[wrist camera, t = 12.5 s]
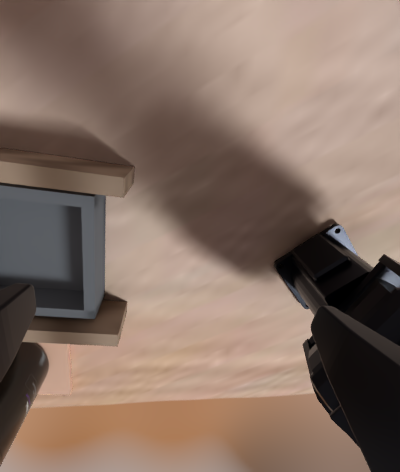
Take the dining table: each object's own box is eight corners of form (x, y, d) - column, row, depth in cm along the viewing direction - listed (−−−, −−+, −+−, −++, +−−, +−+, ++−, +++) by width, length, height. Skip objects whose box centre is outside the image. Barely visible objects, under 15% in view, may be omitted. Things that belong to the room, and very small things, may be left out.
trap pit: (105, 185, 19) (94, 196, 16) (104, 295, 23) (94, 319, 20) (-29, 168, 18) (-66, 177, 15) (-6, 287, 22) (-32, 311, 19)
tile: (68, 316, 24) (65, 321, 23) (72, 389, 28) (70, 395, 27) (-54, 309, 22) (-60, 314, 22) (-31, 387, 26) (-36, 393, 26)
